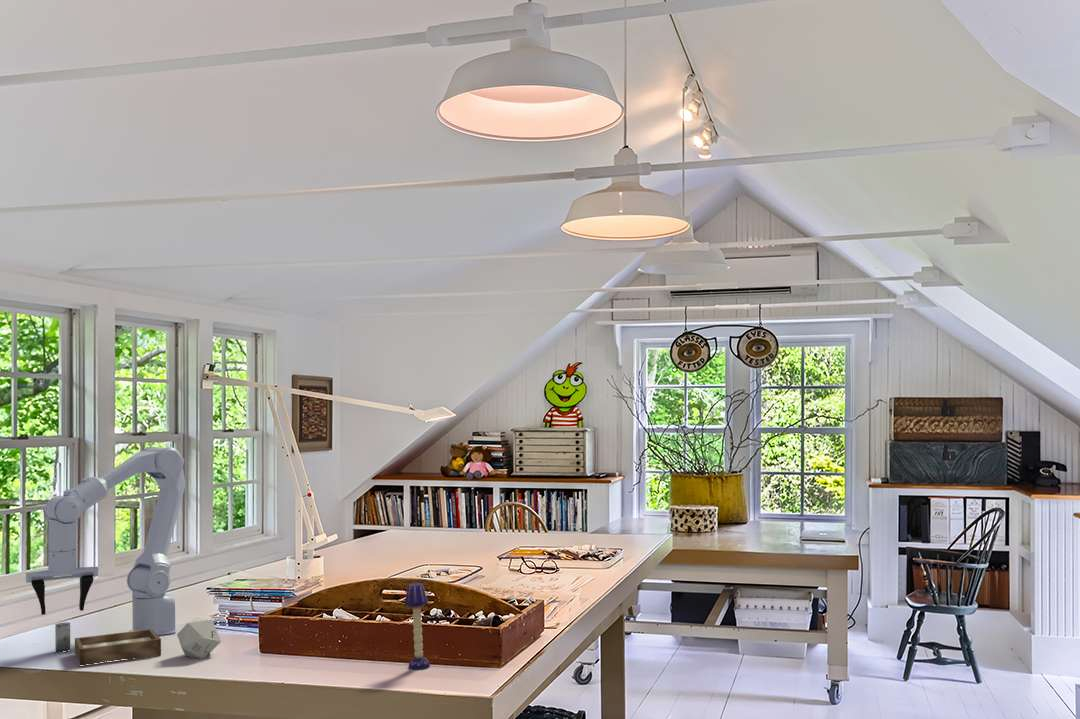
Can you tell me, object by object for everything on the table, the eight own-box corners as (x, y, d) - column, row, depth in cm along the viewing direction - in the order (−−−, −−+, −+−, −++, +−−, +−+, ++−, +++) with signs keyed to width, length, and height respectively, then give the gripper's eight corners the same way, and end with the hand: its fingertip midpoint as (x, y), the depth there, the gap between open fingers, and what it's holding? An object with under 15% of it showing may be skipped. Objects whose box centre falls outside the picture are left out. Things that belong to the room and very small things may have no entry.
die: (179, 666, 212) (207, 628, 213) (162, 640, 217) (189, 604, 218) (208, 671, 219) (235, 635, 219) (191, 646, 224) (217, 611, 224)
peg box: (152, 644, 230) (152, 628, 230) (161, 655, 219) (160, 639, 219) (74, 654, 222) (74, 638, 222) (80, 666, 211) (79, 649, 211)
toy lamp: (419, 671, 202) (417, 586, 203) (400, 668, 204) (399, 584, 205) (434, 665, 206) (432, 582, 207) (416, 662, 209) (414, 581, 209)
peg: (69, 648, 227) (69, 621, 227) (70, 651, 224) (70, 624, 225) (54, 650, 226) (54, 623, 226) (55, 653, 223) (55, 626, 223)
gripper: (96, 545, 233) (96, 605, 232) (25, 551, 226) (25, 612, 225) (99, 549, 227) (99, 610, 226) (26, 554, 220) (26, 618, 219)
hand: (62, 611), depth 225 cm, fingers open, 7 cm apart
